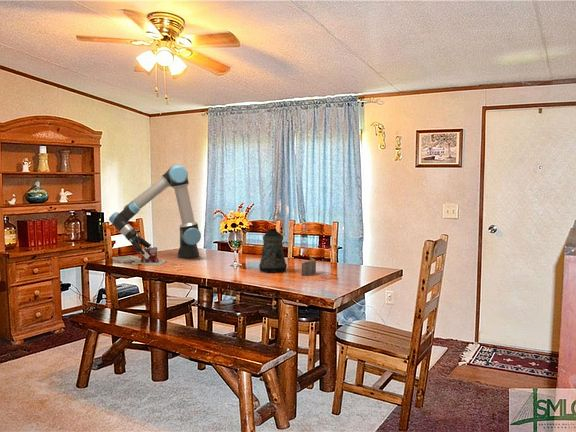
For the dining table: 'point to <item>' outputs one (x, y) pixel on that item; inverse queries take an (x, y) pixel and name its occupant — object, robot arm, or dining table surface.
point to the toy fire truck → (153, 256)
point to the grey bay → (149, 263)
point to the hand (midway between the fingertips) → (152, 256)
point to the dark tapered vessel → (272, 253)
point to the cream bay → (125, 258)
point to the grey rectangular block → (309, 267)
